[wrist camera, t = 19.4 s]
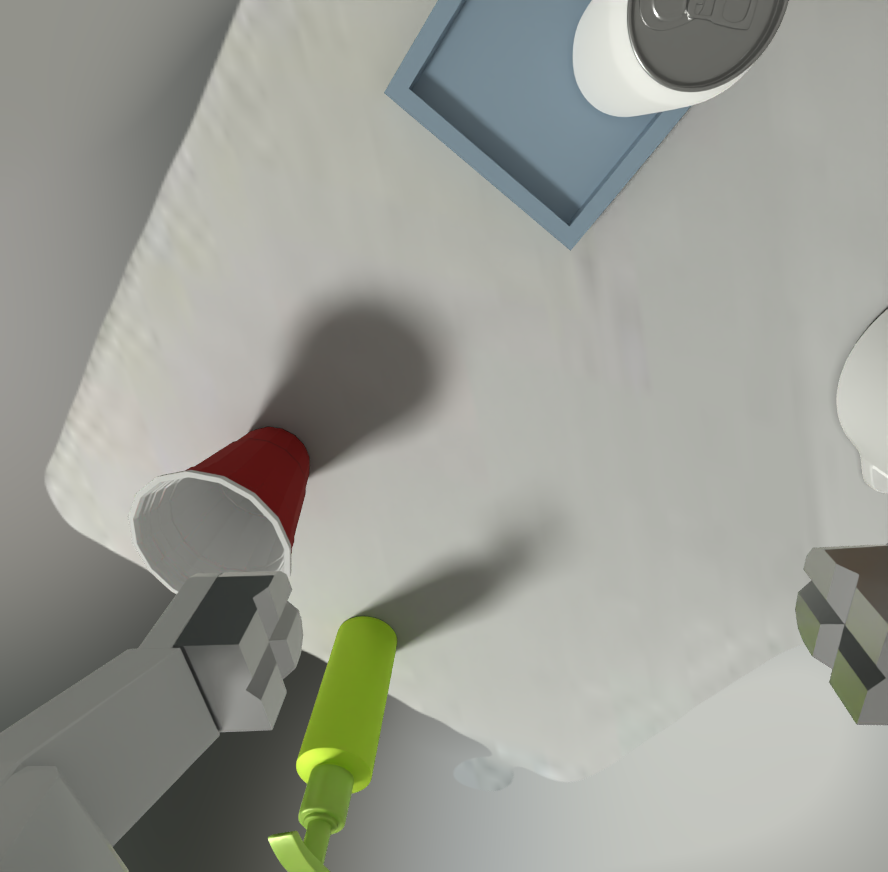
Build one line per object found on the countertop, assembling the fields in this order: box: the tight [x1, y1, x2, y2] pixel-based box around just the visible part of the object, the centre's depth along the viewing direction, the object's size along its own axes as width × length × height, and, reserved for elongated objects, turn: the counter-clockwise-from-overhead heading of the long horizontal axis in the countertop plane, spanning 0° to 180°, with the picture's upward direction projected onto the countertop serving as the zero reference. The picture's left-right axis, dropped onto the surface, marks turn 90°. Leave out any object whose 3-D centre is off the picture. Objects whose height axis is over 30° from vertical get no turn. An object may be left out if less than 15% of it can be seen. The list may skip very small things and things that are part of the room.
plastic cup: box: [128, 427, 309, 594], centre depth 40 cm, size 11×11×12 cm
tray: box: [384, 0, 691, 251], centre depth 31 cm, size 14×14×2 cm
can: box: [573, 0, 789, 117], centre depth 25 cm, size 6×6×12 cm
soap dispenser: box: [268, 616, 397, 872], centre depth 45 cm, size 6×7×20 cm
